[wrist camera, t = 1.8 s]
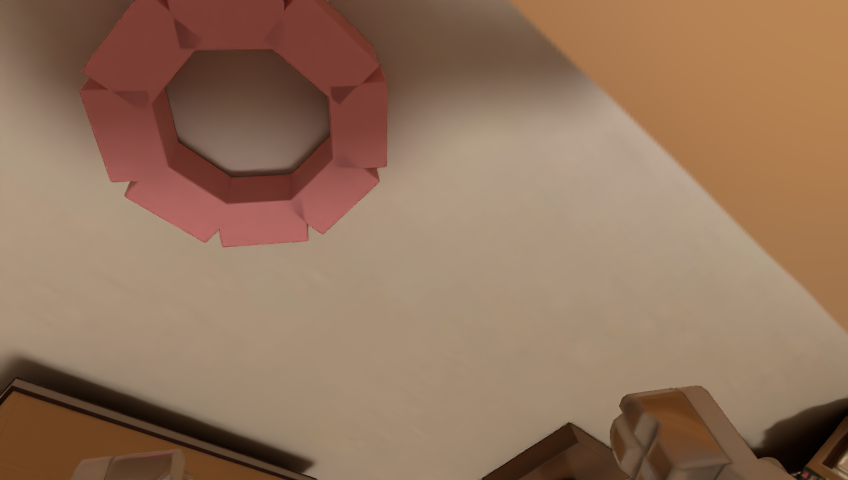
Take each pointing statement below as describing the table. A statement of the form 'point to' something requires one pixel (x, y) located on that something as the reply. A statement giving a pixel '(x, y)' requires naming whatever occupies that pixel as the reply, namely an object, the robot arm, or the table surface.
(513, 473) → the stand
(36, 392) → the book
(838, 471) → the brown boxy container
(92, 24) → the table surface
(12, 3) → the table surface
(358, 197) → the pink octagonal ring
